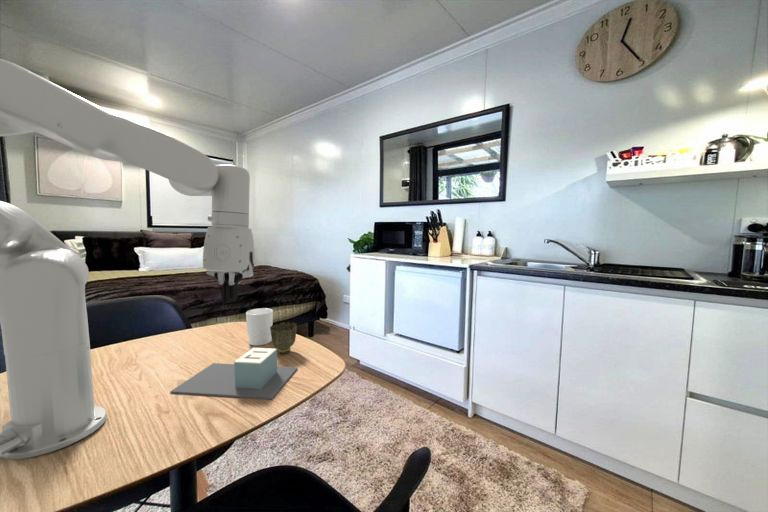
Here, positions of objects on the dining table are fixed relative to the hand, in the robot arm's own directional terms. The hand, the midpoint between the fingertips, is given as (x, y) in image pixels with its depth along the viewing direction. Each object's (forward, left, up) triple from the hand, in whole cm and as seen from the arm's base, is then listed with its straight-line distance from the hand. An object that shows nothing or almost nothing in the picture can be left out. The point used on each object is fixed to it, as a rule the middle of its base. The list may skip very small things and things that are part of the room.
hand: (229, 301), depth 68 cm
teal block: (+1, -6, -13) cm, 14 cm away
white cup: (+25, +6, -19) cm, 32 cm away
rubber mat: (+1, -1, -19) cm, 19 cm away
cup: (+18, -5, -19) cm, 27 cm away
